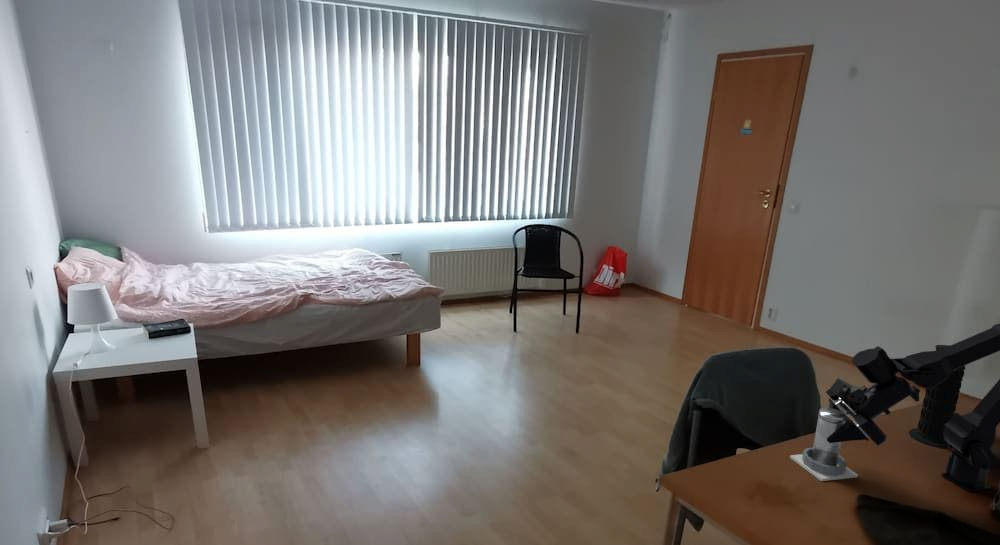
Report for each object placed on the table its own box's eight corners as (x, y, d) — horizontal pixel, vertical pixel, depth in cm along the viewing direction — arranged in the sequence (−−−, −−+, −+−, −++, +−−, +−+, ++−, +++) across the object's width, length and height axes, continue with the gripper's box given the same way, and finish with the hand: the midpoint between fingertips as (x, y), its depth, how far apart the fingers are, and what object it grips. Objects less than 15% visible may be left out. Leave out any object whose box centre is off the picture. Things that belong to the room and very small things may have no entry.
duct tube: (842, 463, 130) (851, 415, 127) (828, 469, 127) (837, 420, 125) (820, 452, 135) (828, 405, 132) (806, 458, 132) (814, 410, 129)
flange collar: (857, 477, 128) (859, 467, 127) (821, 481, 125) (823, 471, 125) (824, 454, 137) (825, 444, 137) (789, 457, 135) (791, 448, 134)
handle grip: (920, 445, 143) (964, 451, 141) (942, 350, 137) (987, 354, 135) (901, 427, 153) (941, 432, 151) (920, 337, 147) (963, 341, 145)
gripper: (840, 356, 134) (786, 393, 138) (880, 388, 116) (816, 430, 120) (869, 389, 135) (814, 425, 139) (913, 425, 117) (849, 466, 121)
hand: (822, 435), depth 130 cm, fingers closed on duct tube, 5 cm apart
